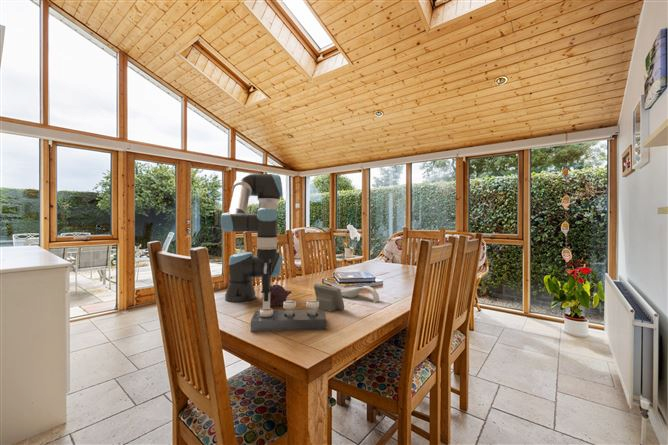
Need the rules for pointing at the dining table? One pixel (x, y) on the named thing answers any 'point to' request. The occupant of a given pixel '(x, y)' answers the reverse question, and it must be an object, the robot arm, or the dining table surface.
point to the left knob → (266, 312)
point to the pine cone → (278, 295)
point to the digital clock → (329, 297)
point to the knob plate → (289, 321)
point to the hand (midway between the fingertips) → (266, 308)
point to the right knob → (312, 307)
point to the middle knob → (289, 308)
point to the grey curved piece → (354, 292)
